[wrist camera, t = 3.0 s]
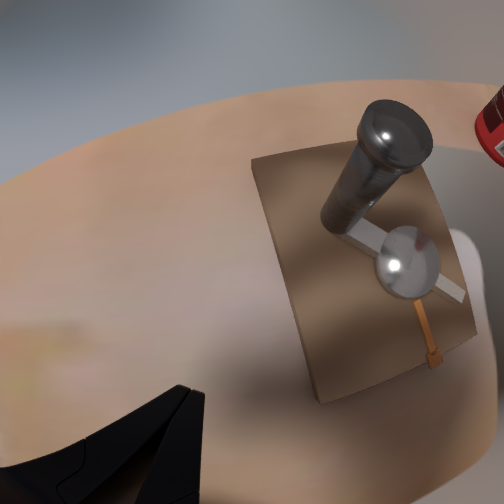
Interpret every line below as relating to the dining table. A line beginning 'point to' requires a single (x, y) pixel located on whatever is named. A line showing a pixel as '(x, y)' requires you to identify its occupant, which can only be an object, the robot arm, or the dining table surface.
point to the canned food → (492, 128)
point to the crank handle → (373, 188)
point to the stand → (356, 275)
